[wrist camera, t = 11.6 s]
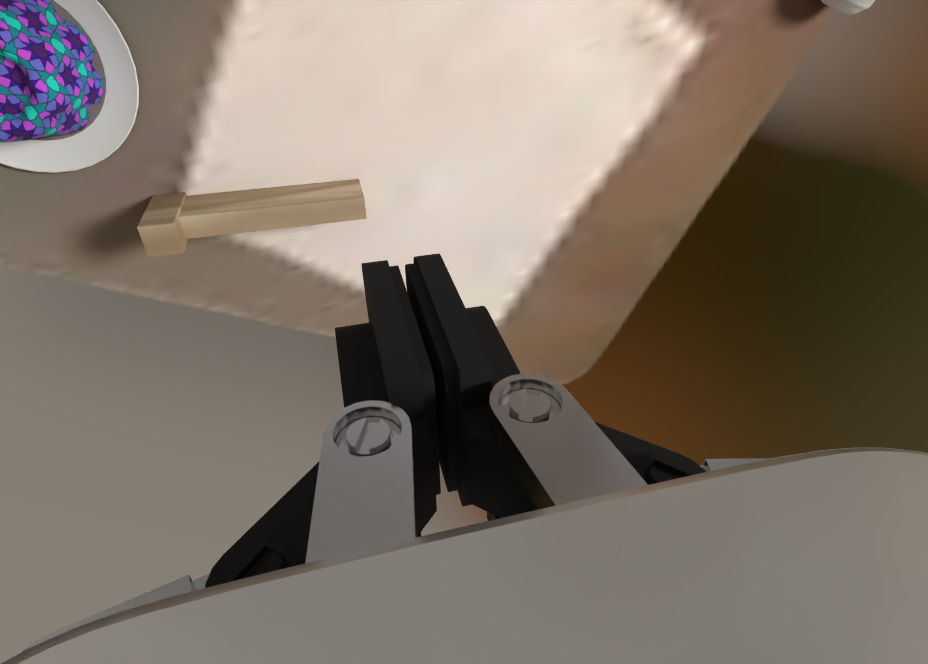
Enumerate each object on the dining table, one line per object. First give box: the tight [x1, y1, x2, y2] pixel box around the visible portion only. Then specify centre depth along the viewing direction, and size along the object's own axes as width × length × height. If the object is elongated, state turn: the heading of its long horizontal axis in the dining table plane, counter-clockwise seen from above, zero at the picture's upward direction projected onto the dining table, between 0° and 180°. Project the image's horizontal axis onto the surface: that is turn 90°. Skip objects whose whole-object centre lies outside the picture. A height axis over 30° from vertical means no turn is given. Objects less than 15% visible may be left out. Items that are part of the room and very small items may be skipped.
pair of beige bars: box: [137, 179, 366, 257], centre depth 32 cm, size 18×14×5 cm
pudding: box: [0, 0, 139, 173], centre depth 29 cm, size 12×12×5 cm
